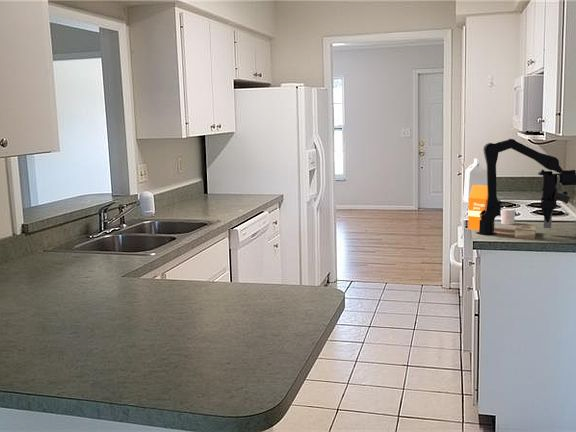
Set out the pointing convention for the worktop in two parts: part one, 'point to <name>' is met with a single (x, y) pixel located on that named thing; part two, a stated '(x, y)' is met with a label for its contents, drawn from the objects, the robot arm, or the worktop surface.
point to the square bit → (547, 224)
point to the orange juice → (476, 205)
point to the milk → (474, 178)
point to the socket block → (525, 232)
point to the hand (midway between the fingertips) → (547, 221)
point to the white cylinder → (507, 216)
